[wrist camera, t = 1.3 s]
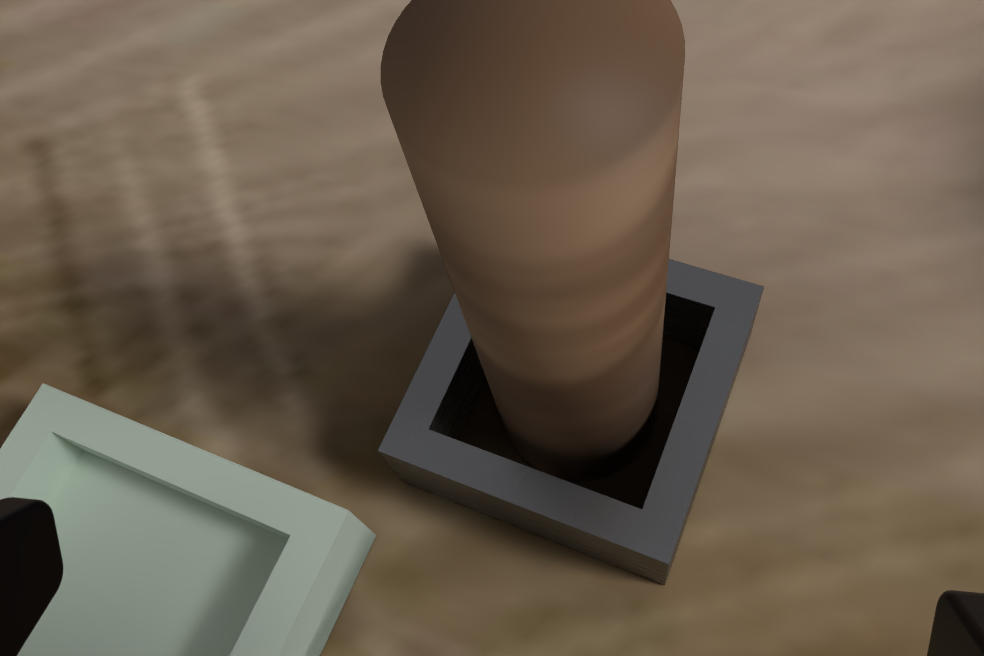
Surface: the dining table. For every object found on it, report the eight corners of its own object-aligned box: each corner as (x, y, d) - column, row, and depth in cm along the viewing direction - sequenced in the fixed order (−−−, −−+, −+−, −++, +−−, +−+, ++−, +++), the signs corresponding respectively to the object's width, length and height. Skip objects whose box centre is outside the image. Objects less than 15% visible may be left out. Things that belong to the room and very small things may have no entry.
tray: (170, 974, 19) (109, 1002, 17) (-133, 785, 22) (-221, 787, 19) (376, 535, 23) (348, 510, 20) (94, 417, 25) (43, 383, 23)
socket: (664, 585, 21) (669, 564, 19) (402, 481, 23) (377, 450, 21) (751, 331, 24) (763, 286, 21) (507, 256, 26) (495, 208, 23)
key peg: (625, 503, 22) (622, 216, 11) (478, 448, 23) (329, 134, 12) (677, 363, 24) (725, -26, 12) (536, 317, 25) (454, -79, 13)
